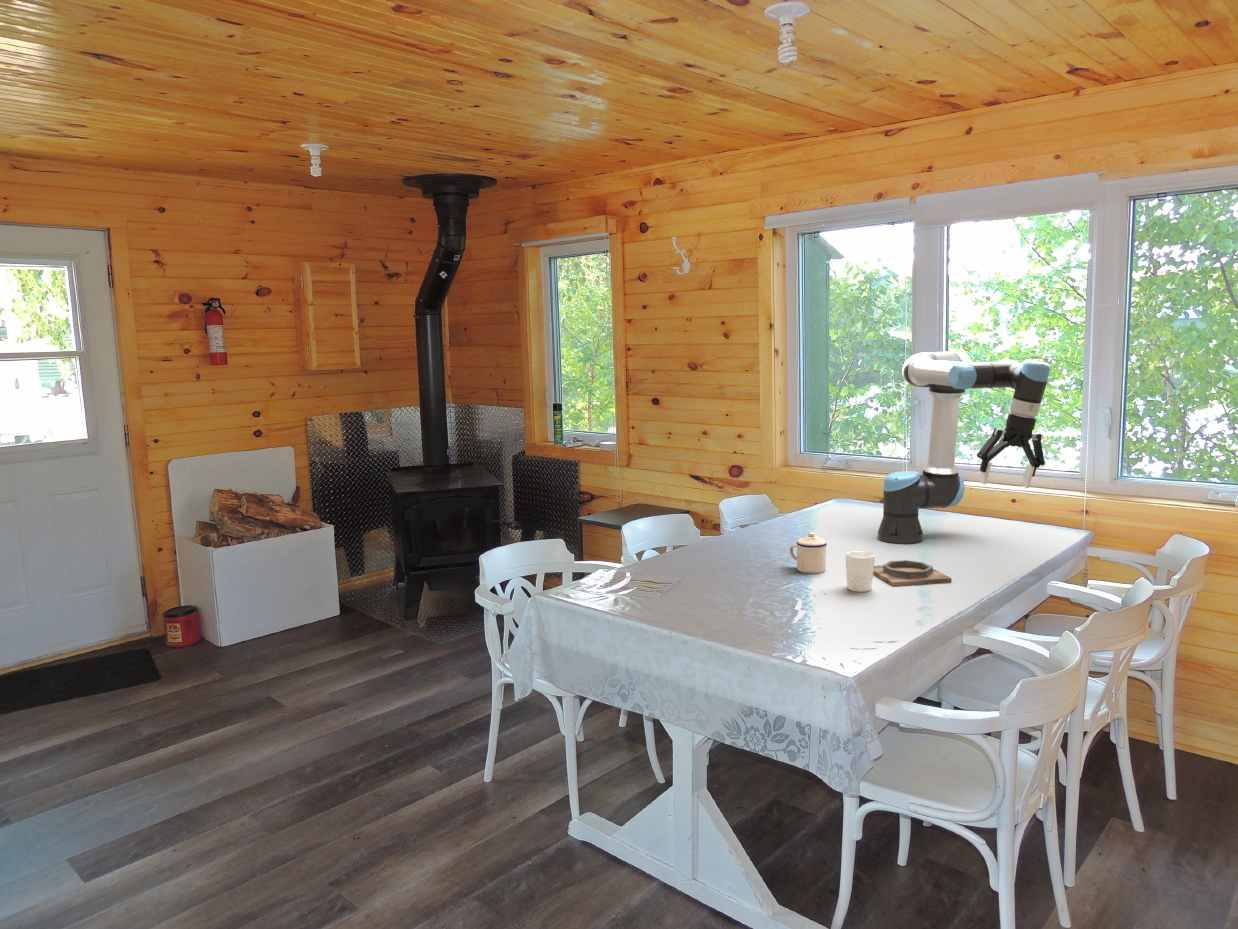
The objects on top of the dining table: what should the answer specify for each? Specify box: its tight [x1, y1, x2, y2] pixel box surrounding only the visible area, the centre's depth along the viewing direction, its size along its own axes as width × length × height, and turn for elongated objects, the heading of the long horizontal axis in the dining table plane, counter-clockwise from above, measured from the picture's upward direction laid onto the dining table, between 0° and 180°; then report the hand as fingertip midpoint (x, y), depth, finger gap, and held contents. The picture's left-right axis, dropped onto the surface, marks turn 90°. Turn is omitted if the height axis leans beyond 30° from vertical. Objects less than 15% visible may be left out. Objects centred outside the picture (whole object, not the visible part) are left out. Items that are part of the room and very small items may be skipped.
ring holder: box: [873, 559, 953, 587], centre depth 265 cm, size 18×18×3 cm
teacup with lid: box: [789, 532, 828, 574], centre depth 274 cm, size 12×9×12 cm
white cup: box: [845, 550, 875, 593], centre depth 252 cm, size 8×8×10 cm
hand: (1003, 484), depth 260 cm, fingers open, 13 cm apart
